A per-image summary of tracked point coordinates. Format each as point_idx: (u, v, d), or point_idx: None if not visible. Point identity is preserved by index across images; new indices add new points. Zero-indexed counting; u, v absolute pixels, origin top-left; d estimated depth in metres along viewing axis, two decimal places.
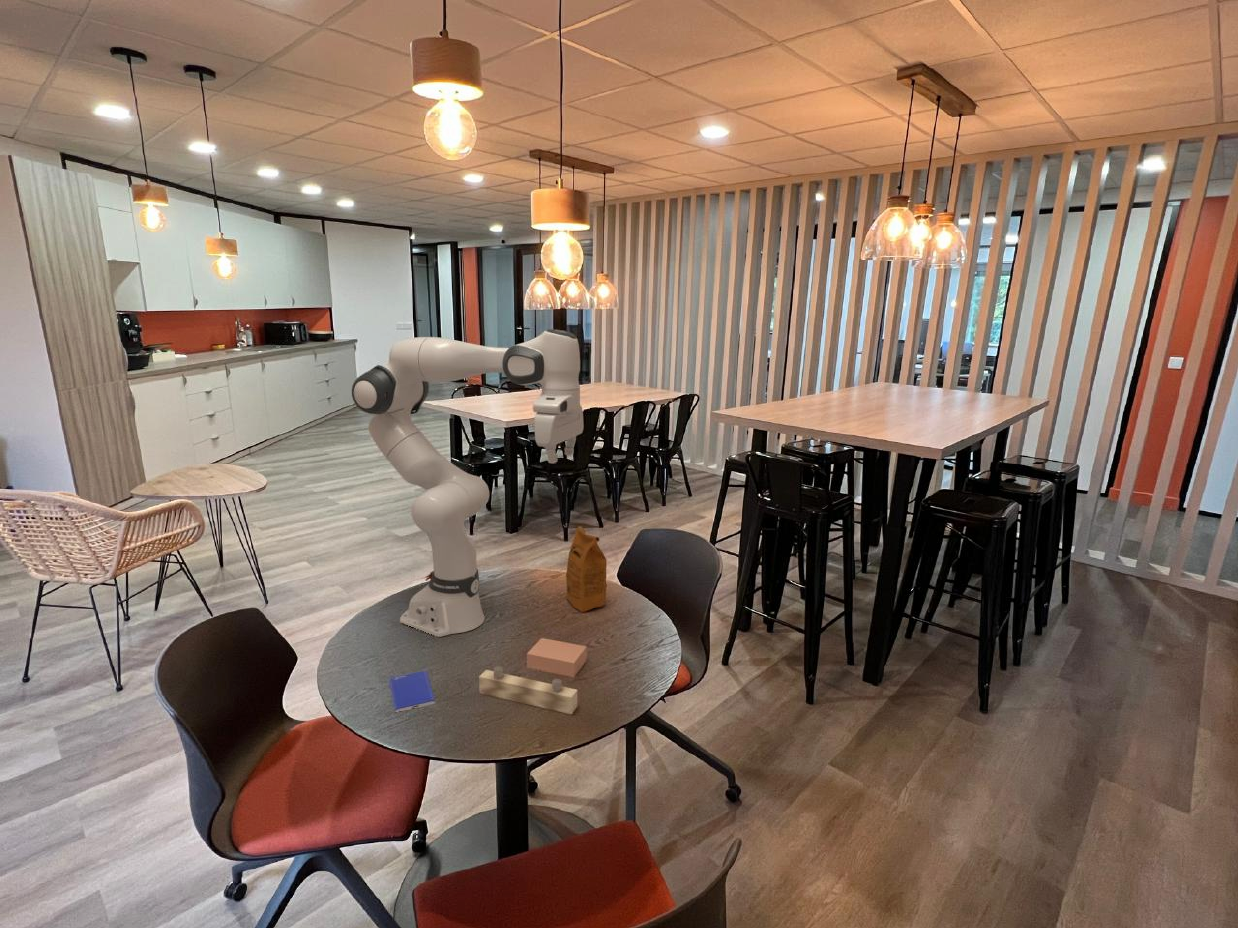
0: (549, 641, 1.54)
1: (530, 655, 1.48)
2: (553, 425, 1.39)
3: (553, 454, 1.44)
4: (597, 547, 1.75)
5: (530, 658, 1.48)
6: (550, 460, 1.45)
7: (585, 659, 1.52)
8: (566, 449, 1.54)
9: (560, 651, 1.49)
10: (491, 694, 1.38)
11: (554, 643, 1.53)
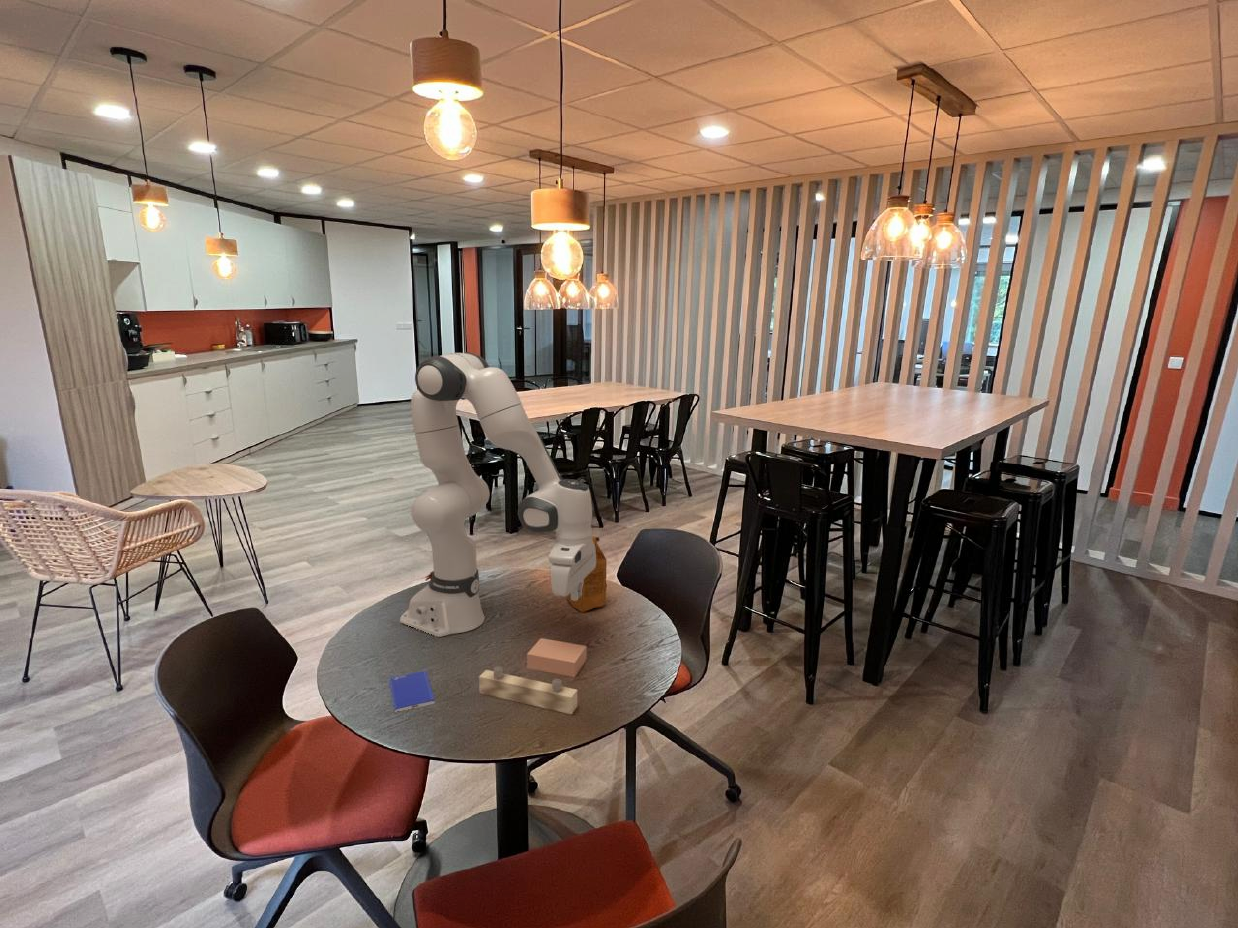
0: (549, 641, 1.54)
1: (530, 656, 1.48)
2: (568, 577, 1.46)
3: (575, 593, 1.55)
4: (597, 547, 1.75)
5: (530, 659, 1.48)
6: (573, 597, 1.56)
7: (585, 659, 1.52)
8: None
9: (560, 651, 1.49)
10: (491, 694, 1.38)
11: (554, 643, 1.53)
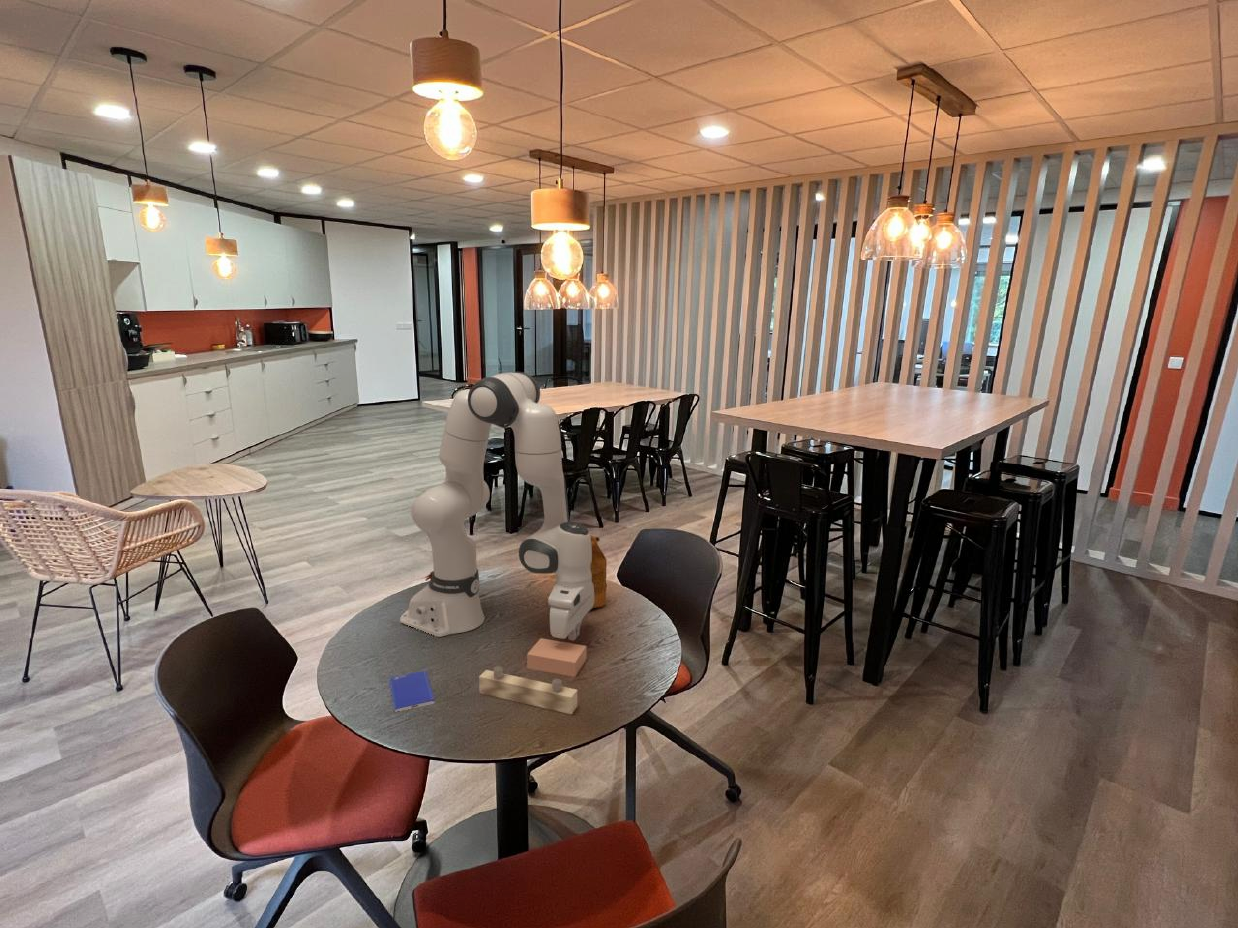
0: (548, 641, 1.54)
1: (530, 656, 1.48)
2: (567, 620, 1.48)
3: (573, 633, 1.57)
4: (597, 547, 1.75)
5: (530, 659, 1.48)
6: (570, 637, 1.58)
7: (585, 658, 1.52)
8: None
9: (560, 651, 1.49)
10: (491, 694, 1.38)
11: (554, 643, 1.53)
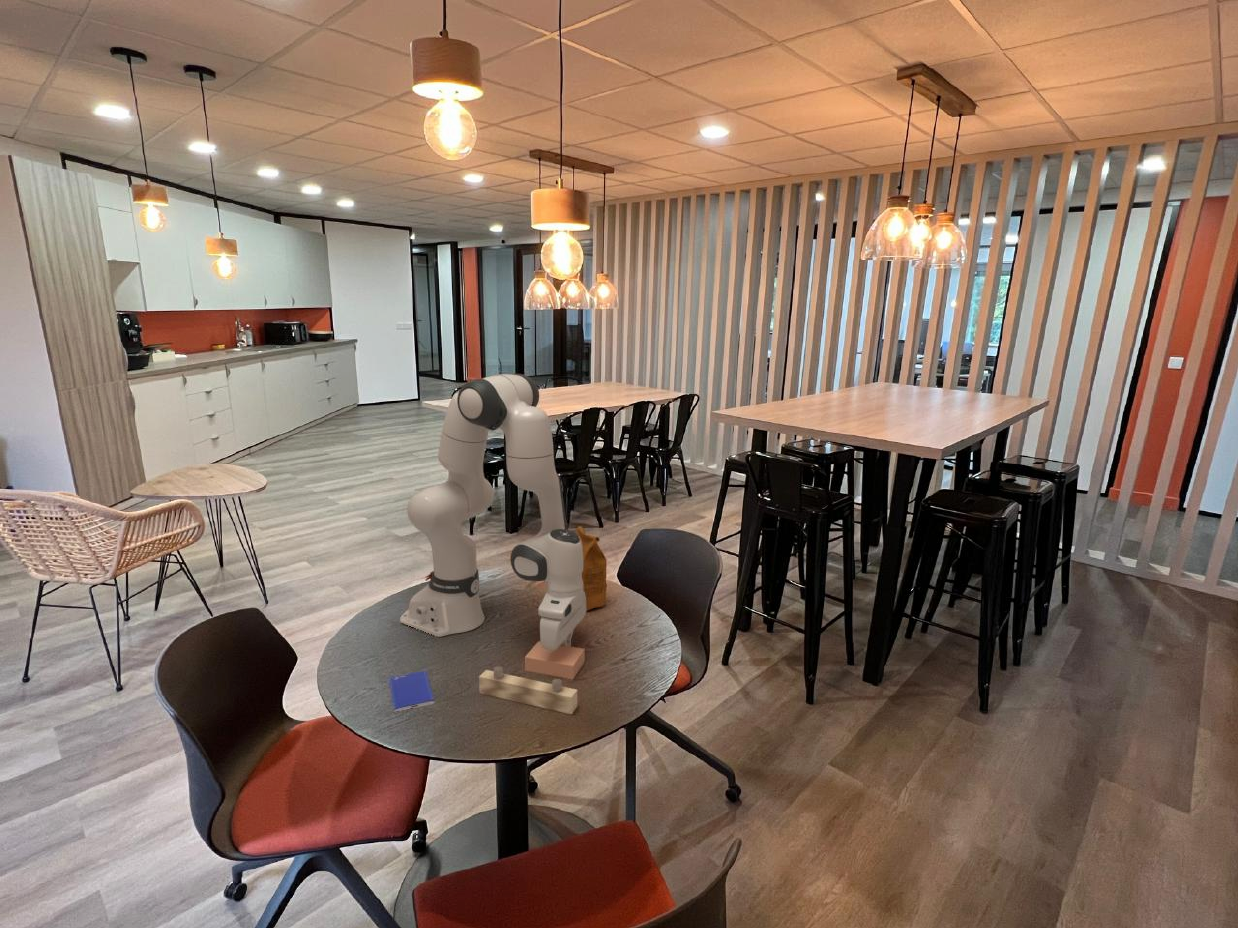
0: None
1: (528, 659, 1.47)
2: (558, 631, 1.43)
3: (564, 644, 1.52)
4: (597, 547, 1.75)
5: (528, 662, 1.47)
6: None
7: (583, 661, 1.51)
8: None
9: (558, 654, 1.49)
10: (491, 694, 1.38)
11: None
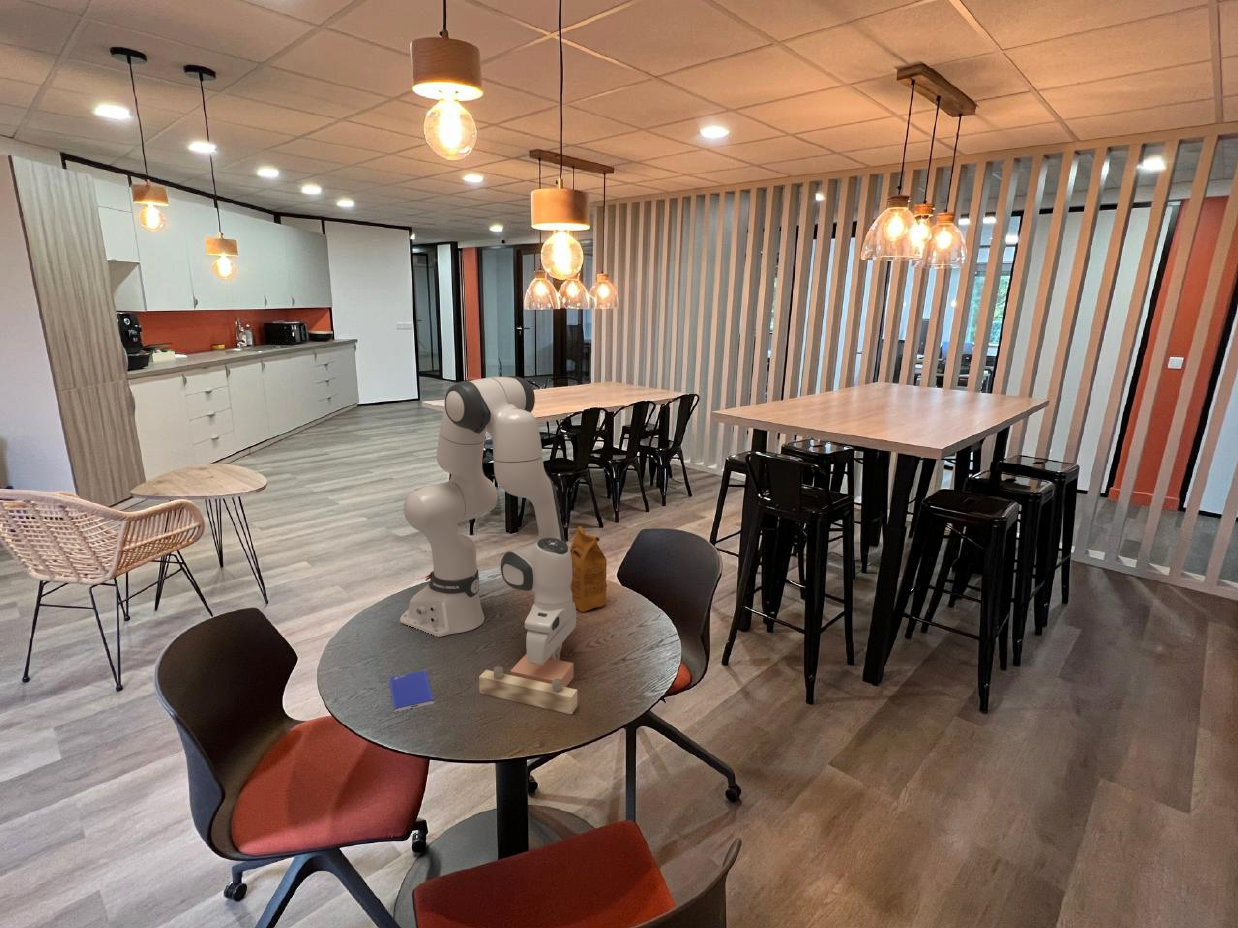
0: None
1: (514, 673, 1.41)
2: (545, 645, 1.37)
3: (553, 658, 1.46)
4: (597, 547, 1.75)
5: None
6: None
7: (572, 676, 1.45)
8: None
9: (545, 669, 1.42)
10: (491, 694, 1.38)
11: None
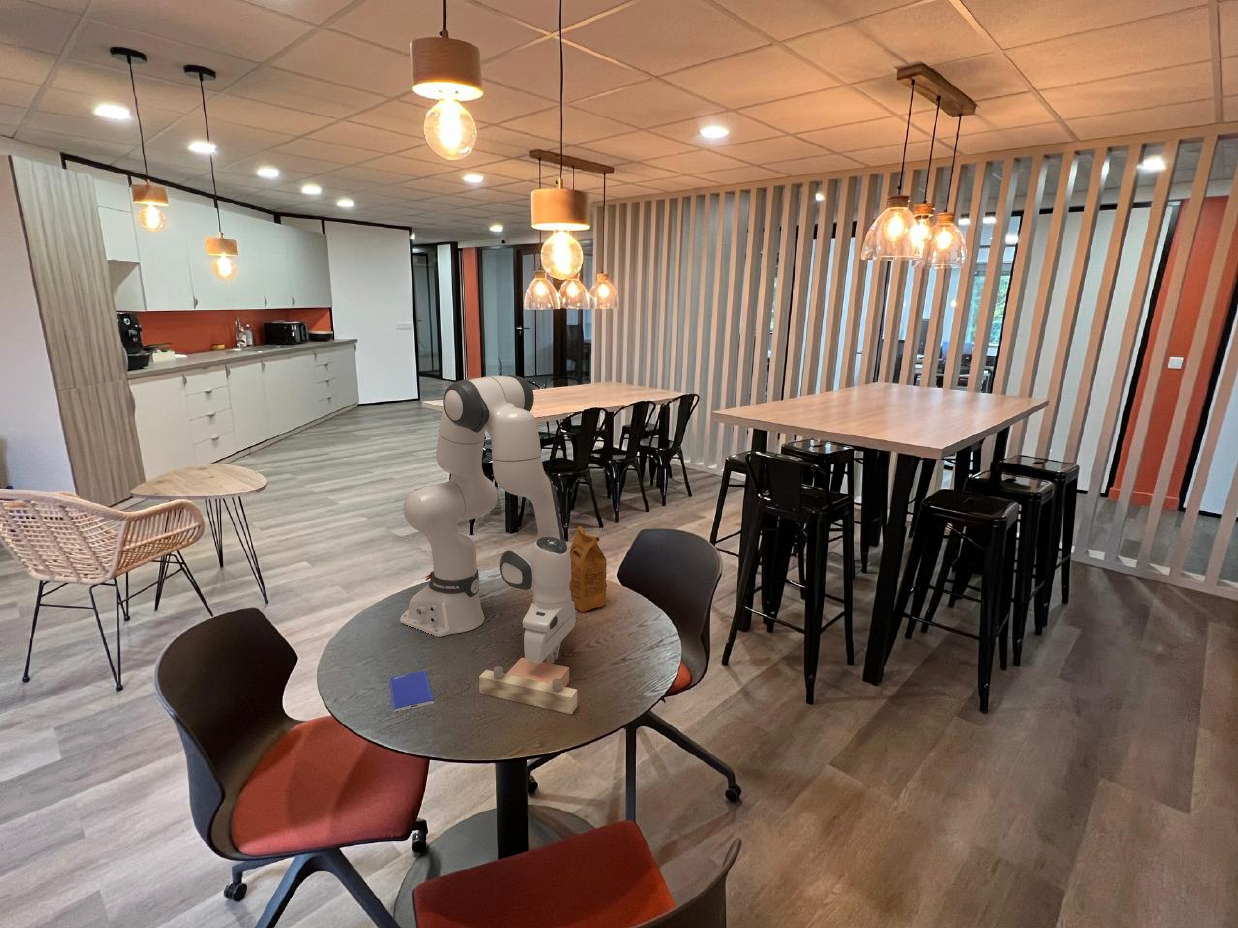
0: None
1: None
2: (543, 644, 1.37)
3: (551, 657, 1.46)
4: (597, 547, 1.75)
5: None
6: (548, 661, 1.47)
7: (567, 681, 1.43)
8: None
9: (540, 673, 1.40)
10: (491, 694, 1.38)
11: None
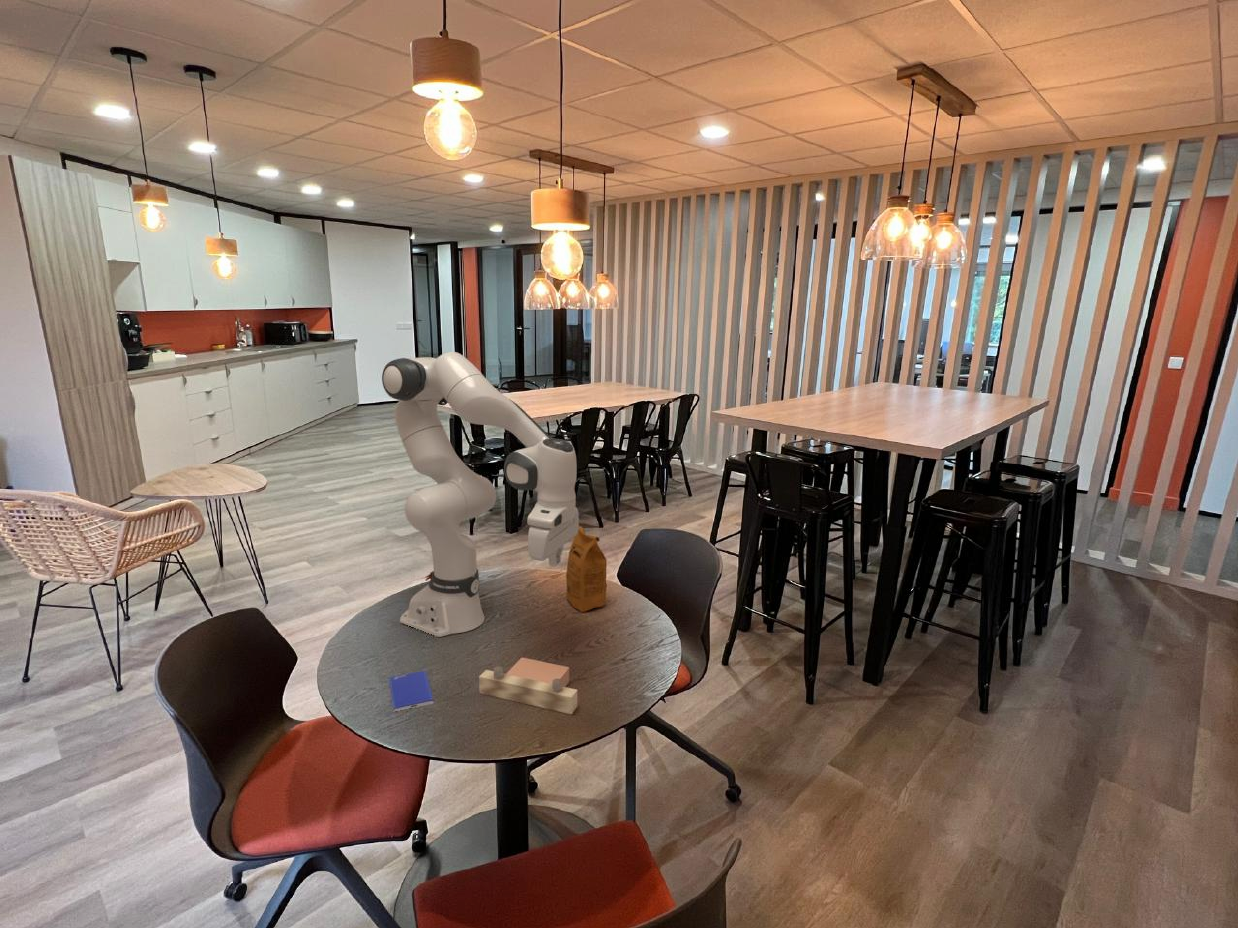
0: (529, 661, 1.45)
1: None
2: (547, 540, 1.39)
3: (554, 558, 1.48)
4: (597, 547, 1.75)
5: None
6: (551, 563, 1.49)
7: (567, 681, 1.43)
8: None
9: (540, 673, 1.40)
10: (491, 694, 1.38)
11: (535, 663, 1.44)
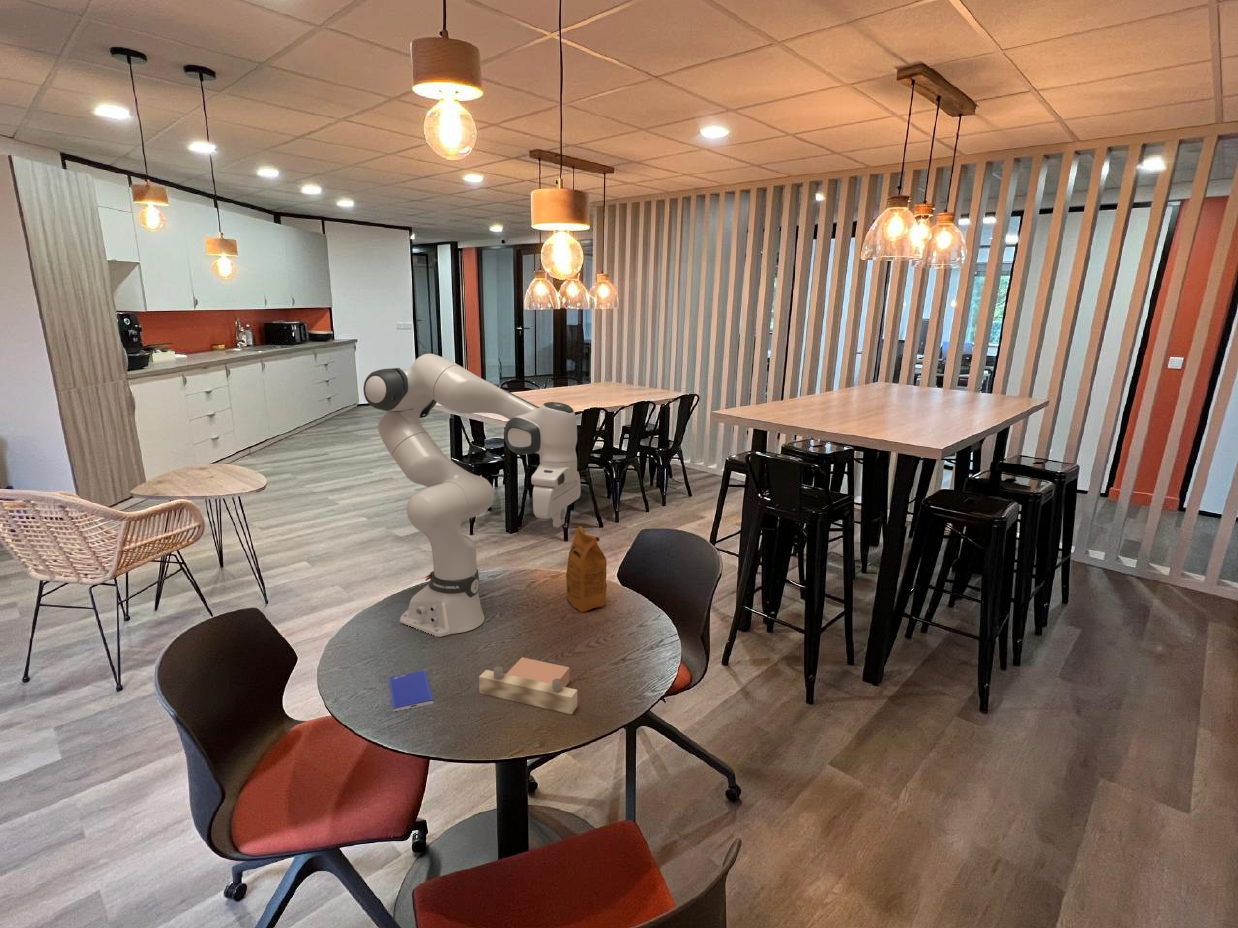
0: (530, 661, 1.45)
1: None
2: (551, 498, 1.43)
3: (558, 519, 1.52)
4: (597, 547, 1.75)
5: None
6: (555, 524, 1.53)
7: (567, 681, 1.43)
8: None
9: (540, 673, 1.40)
10: (491, 694, 1.38)
11: (535, 663, 1.44)
